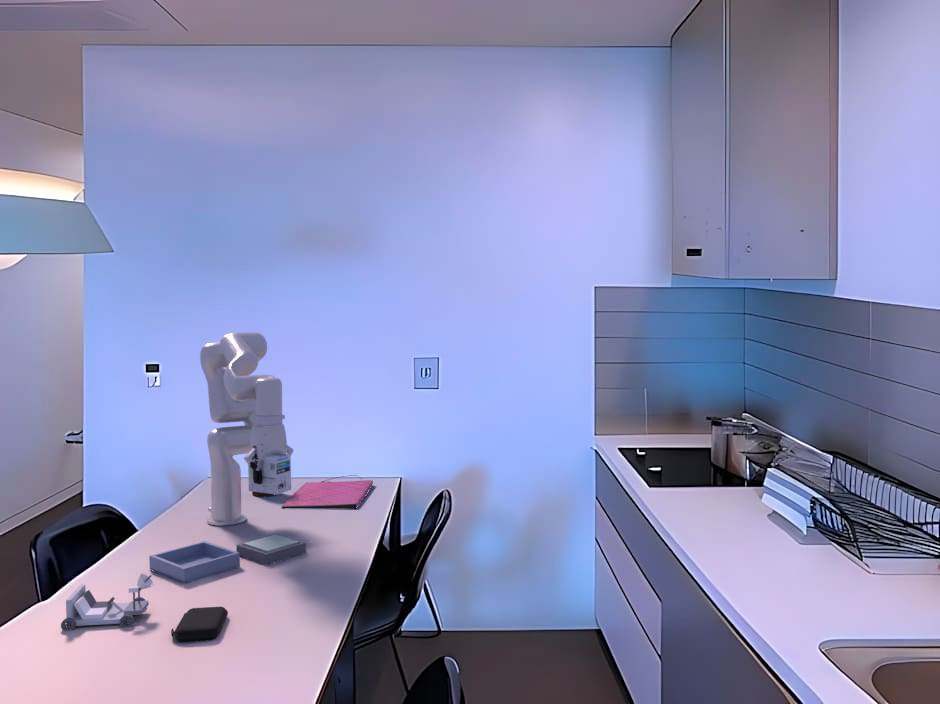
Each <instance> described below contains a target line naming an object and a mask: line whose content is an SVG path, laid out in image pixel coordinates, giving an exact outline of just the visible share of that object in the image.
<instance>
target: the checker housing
mask: <svg viewBox="0 0 940 704" xmlns="http://www.w3.org/2000/svg"><path fill="white" fill-rule="evenodd" d="M272 535H278V536H281V537H285V538H288V539H291V540H295V541H298V543H299V544H295V545H292V546H289V547H285V548H282V549H279V550H275V551H272V552H269V553H266V552H262V551H259V550H256V549H253V548H250V547H247V546H244V543H247V542H251V541H254V540H258V539H261V538H265V537H268V536H272ZM235 545H236V546H235V547H236V548H235V549H236V552H239V553H240V557H241V556H242V557H241V558H245V559H247V558H248V559H247V560H250V561H253V562H257V563H259V564H262V565H265V566H268V565H271V563H272V564H275V563H278V562H281V561H284V560H287V559H290V558H289V557H291V558H294V557H297V556H300V555H303V554H306V553H307V543H306V542H305V541H302V540H298V539H296V538H292V537H288V536H284V535H283V534H278V533H273V534H270V535H267V536H263V537H260V538H257V539H252V540H249V541H245V542H242V543H237V544H235ZM305 552H306V553H305ZM299 554H300V555H299ZM296 555H297V556H296ZM293 556H294V557H293ZM280 560H281V561H280ZM277 561H278V562H277ZM274 562H275V563H274Z"/></svg>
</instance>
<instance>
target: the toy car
mask: <svg viewBox="0 0 940 704" xmlns="http://www.w3.org/2000/svg"><path fill="white" fill-rule="evenodd" d="M153 586H154V581H153V580H152V574H150V575H149V576H148V575H147V574H145V573H140V574H139V576H138V579H137V584H136V586H129V588H128V593H132V601H130V602H118V603H117V602H114V600H115V599H116V598H115V597H114V596H112V597H111V598H110V599H109V600H106V601H97V600H96V599H95V597H94V595H93V594H92V592H91V591H90V589H88V590H86V584H85V583H84V584H80V585H79V586H78V587H77V588H76V589H75V590H74V591H73V592H72V593H71V594H70V596H68V598H67V599H66V600H65V610H66V611H65V613H66V616H65V617H66V618H64V619H63V620H62V622H61V624H60V628H61V630H62V631H64V632H65V631H74V630H75V628H76V627H82V626H97V625H98V626H99V625H114V624H117V625H118V624H119V625H120V627H121V628H126V627H127V628H128V627H129V628H131V627H133V625H134V623H135V619H134V618H135V617H134V615H135V616H137V615H143V614H144V613H145V611H146V609H147V608H148V606H149V600H146V599H145V598H144V597H142V596H141V591H142V590H145V589H148V588H151V587H153ZM136 593H137V597H136Z"/></svg>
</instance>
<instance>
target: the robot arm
mask: <svg viewBox="0 0 940 704" xmlns="http://www.w3.org/2000/svg"><path fill="white" fill-rule="evenodd" d="M267 351H268V343H267V340H266V337H265V336H264V335H263V334H261V333H260V332H254V331H253V332H252V331H251V332H250V331H249V332H231V333H227V334H224V336H222V338H221V339H220V341H217V342H215V341H214V342H210V343H207V344H204V345H203V346H202V347H201V349H200V352H199V361H200V366H201V369H202V372H203V374H204V376H205V380H206V382H207V383H206V384H207V392H208V394H207V395H208V406H209V415H210V419H211V420H212V422H214V423H218V424H228V423H230V424H231V423H241V422H243V424H244V425H233V426H224V427H223V426H222V427H218V428H214V429H212V430H211V431H210V432H209V433H208V434H207V437H206V439H207V440H206V443H207V449H208V454H209V462H210V486H211V488H210V489H211V506H209V507H208V508H207V511H208V512H210V516H208V517H207V518H206V523H207V524H208V525H211V526H217V527H218V526H222V527H223V526H224V527H225V526H234V525H239V524H241V523H243V522H245V521H246V520H247V515H246V514H244V513H242V477H241V476H242V474H241V473H242V470H241V466H240V464H239V463H238V462H237V461H236V460H235V459H234V456H238V455H245V456H244V457H243V459H244V461H245V462H246V464H247V466H248V465H249V466H250V467H251V469H252V470H253V480H254V483H256V484H262V470H260V468H261V466H262V464H263V461H265V459H266V457H267V456H272V455H278V454H291V456H292V454H293V453H294V448H292V447H291V446H289V445H288V443H287V433H286V428H285V424H284V423H283V420H285V418H286V416H285V414H283V383H282V380H281V379H280V378H277V377H276V376H275V375H272V374H256V375H255V374H254V375H253V373H254V372H255V371H256V370H257V368H258V366H259V362H260V361H262V359H264V358H265V357H266V354H267ZM251 374H252V375H251ZM255 455H256V457H254V458H255V459H253V456H255ZM257 456H258V459H257ZM252 460H254V461H252ZM257 461H258V464H257Z"/></svg>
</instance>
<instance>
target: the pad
mask: <svg viewBox="0 0 940 704" xmlns="http://www.w3.org/2000/svg"><path fill="white" fill-rule="evenodd" d="M271 535H272V536H270V535H267V536H268V537H266V536H264V537H265V538H263V537H260V538H261V539H259V538H257V539H258V540H256V539H253V540H254V541H252V540H250V541H251V542H248V541H246V542H247V543H245V542H243V543H244V546H247V547H250V548H253V549H256V550H259V551H262V552H266V553H269V552H272V551H275V550H279V549H282V548H285V547H289V546H292V545H295V544H299V543H298V541H295V540H296V539H295V540H291V539H288V538H285V537H286V536H285V537H281V536H278V535H279V534H278V535H273V534H271Z"/></svg>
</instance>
